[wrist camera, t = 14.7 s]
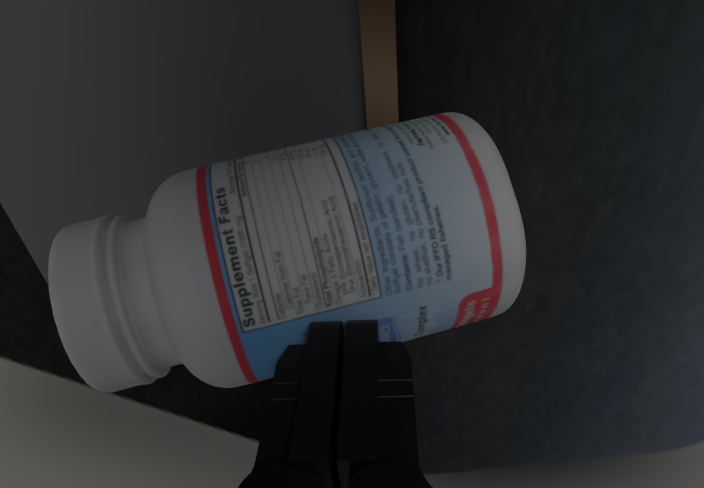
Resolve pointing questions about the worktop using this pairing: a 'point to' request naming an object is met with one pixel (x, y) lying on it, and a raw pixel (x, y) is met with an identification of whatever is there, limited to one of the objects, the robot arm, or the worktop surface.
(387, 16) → the bar
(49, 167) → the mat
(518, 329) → the worktop surface
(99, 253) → the pill bottle
